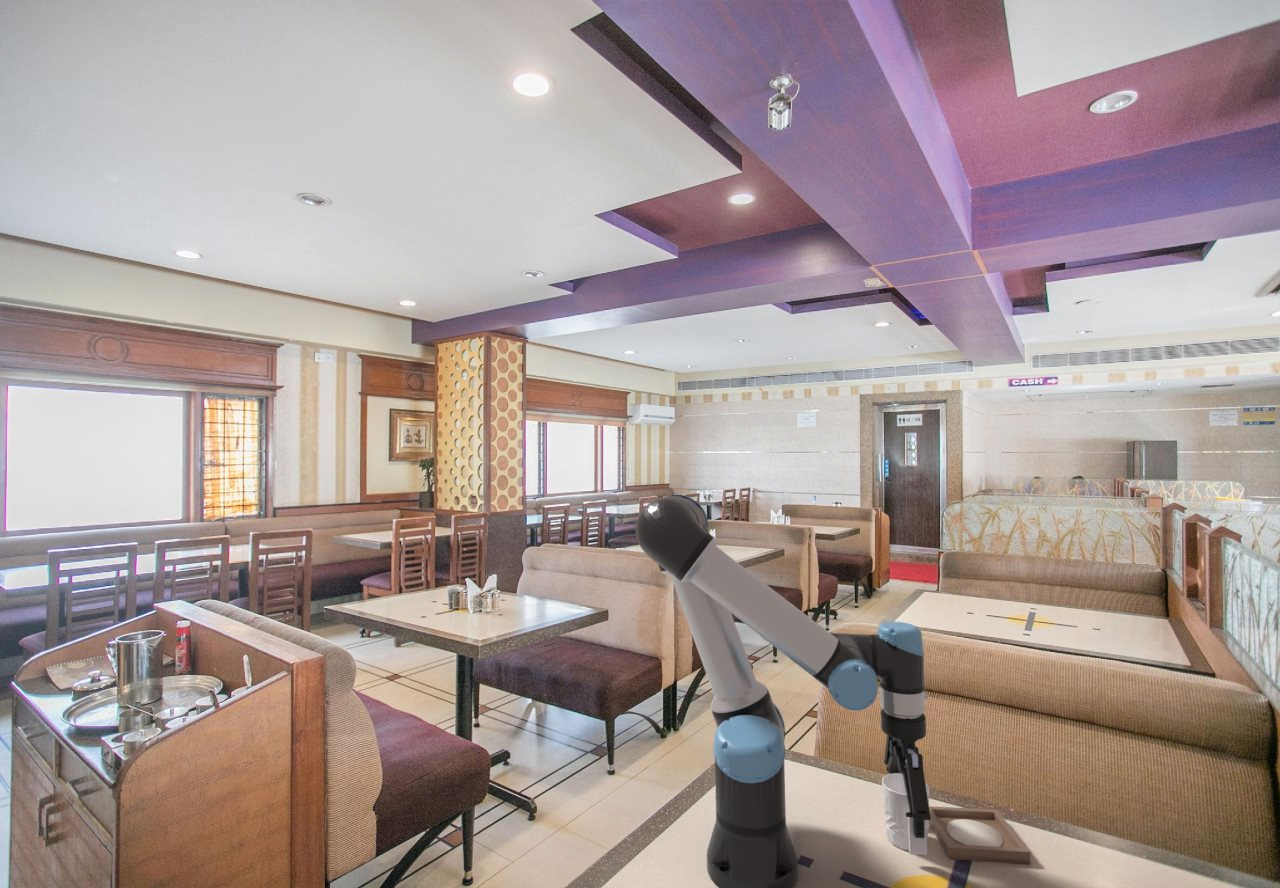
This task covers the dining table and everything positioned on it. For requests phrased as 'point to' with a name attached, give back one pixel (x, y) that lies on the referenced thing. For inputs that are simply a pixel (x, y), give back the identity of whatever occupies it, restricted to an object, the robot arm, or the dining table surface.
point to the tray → (977, 835)
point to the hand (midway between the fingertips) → (906, 830)
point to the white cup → (897, 810)
